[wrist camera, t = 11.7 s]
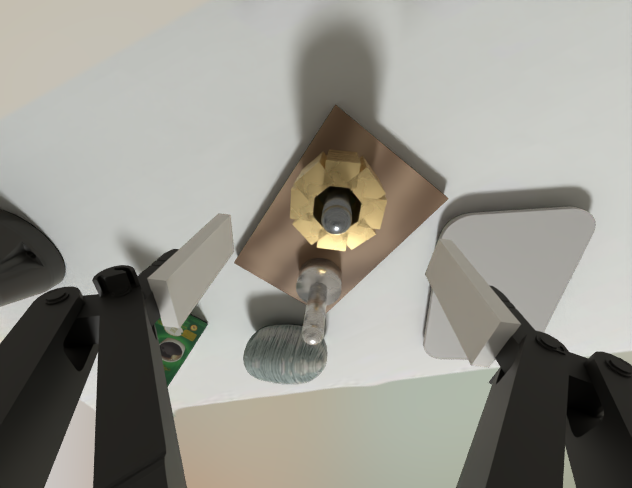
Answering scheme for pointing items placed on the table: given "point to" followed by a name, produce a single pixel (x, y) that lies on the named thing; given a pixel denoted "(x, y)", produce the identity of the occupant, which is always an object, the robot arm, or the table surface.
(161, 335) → the coffee box
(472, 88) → the table surface
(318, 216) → the tan boxy piece
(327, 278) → the stand rod
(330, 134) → the walnut plate
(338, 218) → the metal peg stand
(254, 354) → the grey marbled egg
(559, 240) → the tablet
